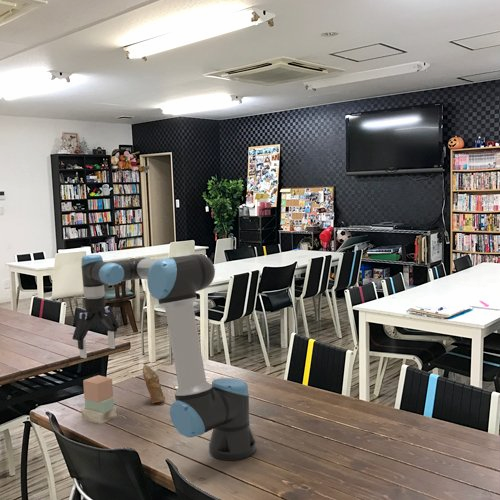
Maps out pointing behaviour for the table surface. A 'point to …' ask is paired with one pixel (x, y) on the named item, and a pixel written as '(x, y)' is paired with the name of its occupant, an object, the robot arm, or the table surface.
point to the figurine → (153, 384)
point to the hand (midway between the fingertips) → (98, 352)
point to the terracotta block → (98, 388)
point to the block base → (98, 415)
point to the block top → (100, 405)
